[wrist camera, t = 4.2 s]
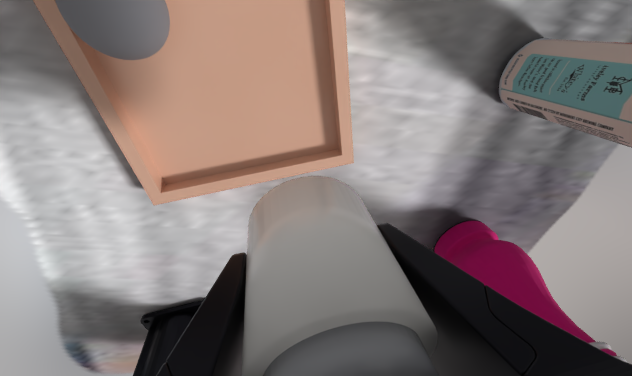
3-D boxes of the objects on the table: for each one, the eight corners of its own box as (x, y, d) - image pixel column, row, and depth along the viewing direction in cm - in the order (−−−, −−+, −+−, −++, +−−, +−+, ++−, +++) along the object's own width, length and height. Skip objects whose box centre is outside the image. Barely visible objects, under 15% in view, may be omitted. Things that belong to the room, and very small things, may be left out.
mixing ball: (115, 61, 14) (71, 73, 11) (66, -36, 12) (-8, -59, 8) (191, 49, 14) (172, 56, 11) (157, -47, 12) (121, -74, 9)
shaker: (262, 277, 11) (266, 472, 6) (233, 189, 8) (204, 402, 4) (365, 255, 11) (440, 421, 7) (366, 165, 9) (487, 328, 4)
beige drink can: (548, 92, 21) (817, 154, 11) (492, 116, 21) (707, 198, 11) (559, 26, 18) (926, 28, 8) (495, 53, 18) (780, 88, 8)
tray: (160, 192, 19) (153, 205, 18) (13, -74, 11) (-19, -87, 10) (347, 153, 20) (353, 162, 19) (328, -109, 13) (337, -124, 11)
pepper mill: (422, 238, 27) (687, 576, 11) (487, 204, 26) (883, 511, 10) (436, 274, 31) (646, 562, 14) (493, 246, 30) (783, 515, 14)
